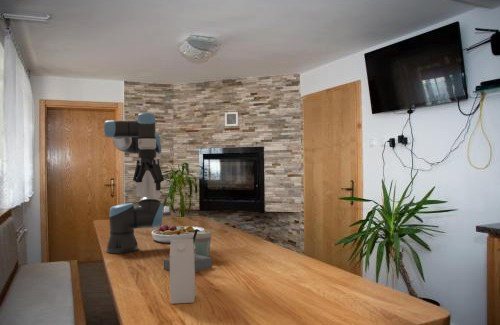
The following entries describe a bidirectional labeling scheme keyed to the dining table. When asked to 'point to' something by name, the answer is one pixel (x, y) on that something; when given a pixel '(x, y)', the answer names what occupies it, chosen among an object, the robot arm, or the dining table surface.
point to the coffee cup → (202, 243)
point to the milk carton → (182, 271)
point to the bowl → (174, 233)
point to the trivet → (200, 263)
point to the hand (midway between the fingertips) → (148, 197)
